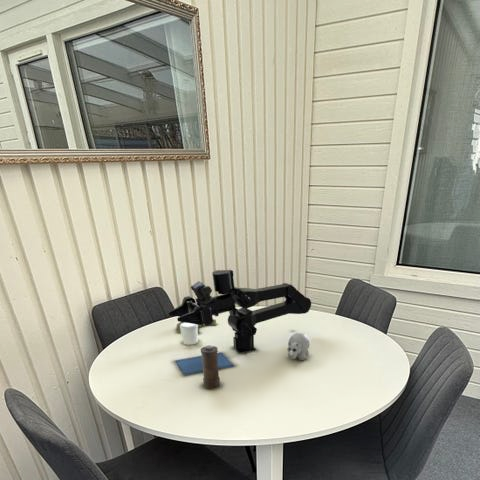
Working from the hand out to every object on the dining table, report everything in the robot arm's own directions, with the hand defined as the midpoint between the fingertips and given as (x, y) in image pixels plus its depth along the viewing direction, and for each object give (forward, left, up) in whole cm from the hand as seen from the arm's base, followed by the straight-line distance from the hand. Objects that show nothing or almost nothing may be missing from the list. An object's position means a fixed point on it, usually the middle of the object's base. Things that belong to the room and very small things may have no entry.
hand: (173, 316), depth 132 cm
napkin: (-8, +4, -16) cm, 18 cm away
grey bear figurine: (-37, +15, -16) cm, 43 cm away
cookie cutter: (-16, -34, -16) cm, 41 cm away
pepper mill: (-5, +21, -16) cm, 27 cm away
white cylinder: (-9, -18, -16) cm, 26 cm away
